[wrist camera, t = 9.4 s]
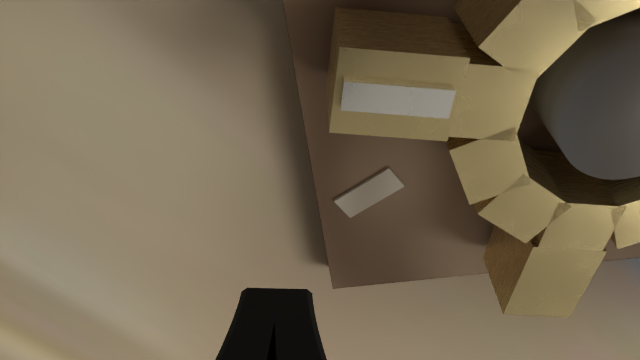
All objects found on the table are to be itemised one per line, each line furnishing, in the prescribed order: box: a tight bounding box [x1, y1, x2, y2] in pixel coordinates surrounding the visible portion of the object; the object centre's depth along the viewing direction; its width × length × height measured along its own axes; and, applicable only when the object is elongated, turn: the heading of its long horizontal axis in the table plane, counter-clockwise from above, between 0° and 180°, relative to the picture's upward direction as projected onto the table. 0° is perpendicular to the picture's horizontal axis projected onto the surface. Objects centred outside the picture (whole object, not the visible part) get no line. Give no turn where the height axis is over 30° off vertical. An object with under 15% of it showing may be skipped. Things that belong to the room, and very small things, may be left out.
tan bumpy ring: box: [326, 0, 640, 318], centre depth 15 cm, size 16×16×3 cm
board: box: [283, 0, 640, 289], centre depth 16 cm, size 18×18×5 cm
